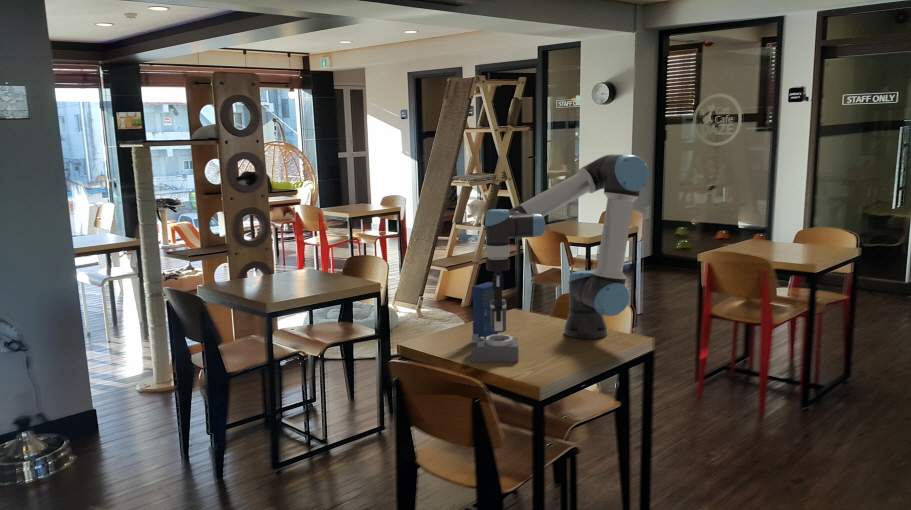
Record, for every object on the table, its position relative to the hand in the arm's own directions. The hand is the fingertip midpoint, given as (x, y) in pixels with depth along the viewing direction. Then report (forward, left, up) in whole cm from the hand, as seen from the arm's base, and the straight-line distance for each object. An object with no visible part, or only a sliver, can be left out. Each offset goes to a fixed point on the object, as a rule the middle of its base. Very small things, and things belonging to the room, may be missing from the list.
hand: (498, 328), depth 230 cm
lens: (0, 0, -1) cm, 1 cm away
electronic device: (+5, -21, -10) cm, 24 cm away
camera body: (+1, 0, -10) cm, 10 cm away
